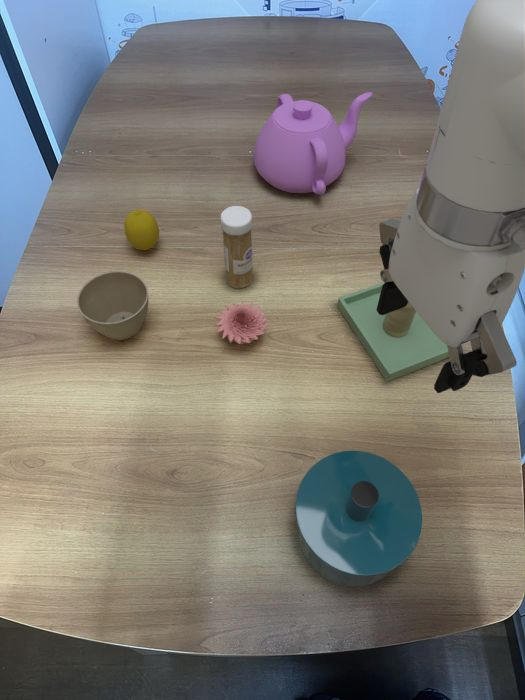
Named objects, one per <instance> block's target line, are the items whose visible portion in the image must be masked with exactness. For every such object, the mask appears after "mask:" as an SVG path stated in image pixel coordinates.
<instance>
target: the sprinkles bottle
mask: <svg viewBox="0 0 525 700" xmlns="http://www.w3.org/2000/svg"><path fill="white" fill-rule="evenodd" d="M220 228H221V230H222V231H221V232H222V244H223V245H222V247H223V257H224V268H225V281H226V283H227V284H228V285H229V286H230V287H232V288H234V289H244V288H247V287H249V286H250V285H251V284H252V283H253V281H254V274H253V261H254V260H253V259H254V257H253V245H252V243H253V241H252V240H253V239H252V228H253V214H252V212H251V211H250V210H249V208H246V207H244V206H241V205H232V206H229V207H227V208H225V209H224V210H223V211H222V212H221V214H220Z"/></svg>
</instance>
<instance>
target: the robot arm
mask: <svg viewBox="0 0 525 700" xmlns="http://www.w3.org/2000/svg"><path fill="white" fill-rule="evenodd" d="M463 24H464V25H463V28H462V30H461V34H460V37H459V41H458V44H457V48H456V52H455V56H454V60H453V63H452V67H451V71H450V74H449V78H448V80H447V81H448V82H447V84H446V89H445V93H444V96H443V100H442V103H441V104H442V105H441V107H440V111H439V116H438V118H437V122H436V126H435V130H434V134H433V137H432V141H431V145H430V147H429V148H430V149H429V152H428V157H427V159H426V163H425V166H424V171H423V174H422V177H421V181H420V184H419V186H418V187H417V188H416V189H415V191H414V192H413V194H412V196H411V199H410V200H409V202H408V204H407V206H406V208H405V211H403V212H404V213H403V215H402V217H401V219H400V220H398V219H395V218H391V219H387V220H385V221H381V222H380V223H379V224H378V227H379V228H378V229H379V237H380V243H381V245H380V246H379V252H378V253H379V256H380V257H381V262H382V266H383V269H382V270H380V272H379V275H380V279H381V280H382V283H384V282H385V283H384V284H383V285H382V289H381V293H380V297H379V301H378V305H377V309H376V310H377V312H378V313H379V314H380V315H385V314H387V313H390V312H393V311H395V310H398V309H401V308H403V307H405V306H407V304H408V301H409V303H410V304H411V305H412V306H413V308H414V309H415V310H416V311H417V313H418V314H419V315H420V316H421V318H422V319H423V320H424V321H425V323H426V324H427V325H428V326H429V328H430V329H431V330H432V331H433V332H434V334H435V335H436V336H437V337H438V338H439V339H440V340H441V341H442V342H443V343H445V344H446V345H447V347H448V352H449V360H448V361H447V362H445V363H444V364H443V365H442V367H441V370H440V372H439V374H438V375H437V378H436V381H435V382H434V385H433V389H434V390H435V392H436V394H441V393H443V392H445V391H448V390H452V392H457V391H458V390H461V389H463V388H464V387H466V386H467V385H468V384H469V383H470V381H471V378H472V377H473V376H475V377H479V378H484V377H485V376H491V375H496V374H501V373H503V372H505V371H508V370H510V369H512V368H515V367H516V366H517V364H518V363H517V359H516V357H515V354H514V352H513V349H512V347H511V346H510V343H509V341H508V339H507V336H506V334H505V332H504V330H503V327H502V324H503V322H504V321H505V319H506V317H507V315H508V314H509V311H510V308H511V307H512V305H513V302H514V300H515V297H516V295H517V293H518V290H519V287H520V284H521V281H522V278H523V275H524V273H525V0H475V2H474V4H473V5H472V7H471V8H470V10H469V12H468V14H467V16H466V19H465V21H464V23H463ZM468 342H470V346H471V350H470V351H468V352H466V353H464V350H463V344H466V343H468Z"/></svg>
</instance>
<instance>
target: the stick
mask: <svg viewBox="0 0 525 700" xmlns="http://www.w3.org/2000/svg"><path fill="white" fill-rule="evenodd" d="M415 313H416V310H415V309H414V308H413V306H412V305H411V304H410V303H409V301H408V304H407V306H405V307H403V308H401V309H398V310H395V311H393V312H390V313H387V314H386V315H385V318H384V322H383V329H384V331H385V332H386V333H387V334H388V335H390V336H392V337H403V336H405V335H406V334H407V333H408V332H409V329H410V327H411V324H412V321H413V318H414V316H415Z"/></svg>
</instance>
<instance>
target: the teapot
mask: <svg viewBox="0 0 525 700" xmlns="http://www.w3.org/2000/svg"><path fill="white" fill-rule="evenodd" d="M372 96H373V92H372V91H368V92H365V93H362V94H360V95H358V96H357V97H356V98H355V99H354V100H353V101H352V102H351V104H350V106H349V108H348V112H347V114H346V117H345V118H344V120H343V122H342V123H341V124H340V125H338V124H337V122H336V120H335V118H334V117H333V115H332V113H331V112H330V111H329V110H328V109H327V108H326V107H324V106H323V105H322V104H320V103H317V102H315V101H310V100H307V99H298V100H294V99H293V97H292V96H291V94H289V93H282V94H279V96H277V98H276V108H275V110H274V111H273V112H272V113H271V114H270V116H269V117H268V118H267V119H266V120H265V122H264V124H263V125H262V128H261V129H260V131H259V133H258V136H257V138H256V141H255V145H254V150H253V163H254V166H255V168H256V171H257V173H258V174H259V175H260V176H261V177H262V178H263V179H264V180H265V181H266V182H267V183H268V184H269V185H271V186H272V187H274V188H275V189H278V190H280V191H283V192H286V193H292V194H308V193H314V194H316V195H320V196H321V195H323V194H324V193H326V192H327V191H326V190H327V188H326V187H327V186H329V185H330V184H332V183H333V182H334V181H336V180H337V179H338V178H339V177H340V176H341V174H342V172H343V170H345V166H346V157H347V156H346V155H347V154H346V150H347V149H348V148H349V147H350V146H351V144H352V143H353V142H354V140H355V138H356V135H357V132H358V126H359V118H360V112H361V110H362V108H363V106H364V104H365V103H366V102H367V101H368V100H369V99H370V98H371V97H372Z"/></svg>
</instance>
